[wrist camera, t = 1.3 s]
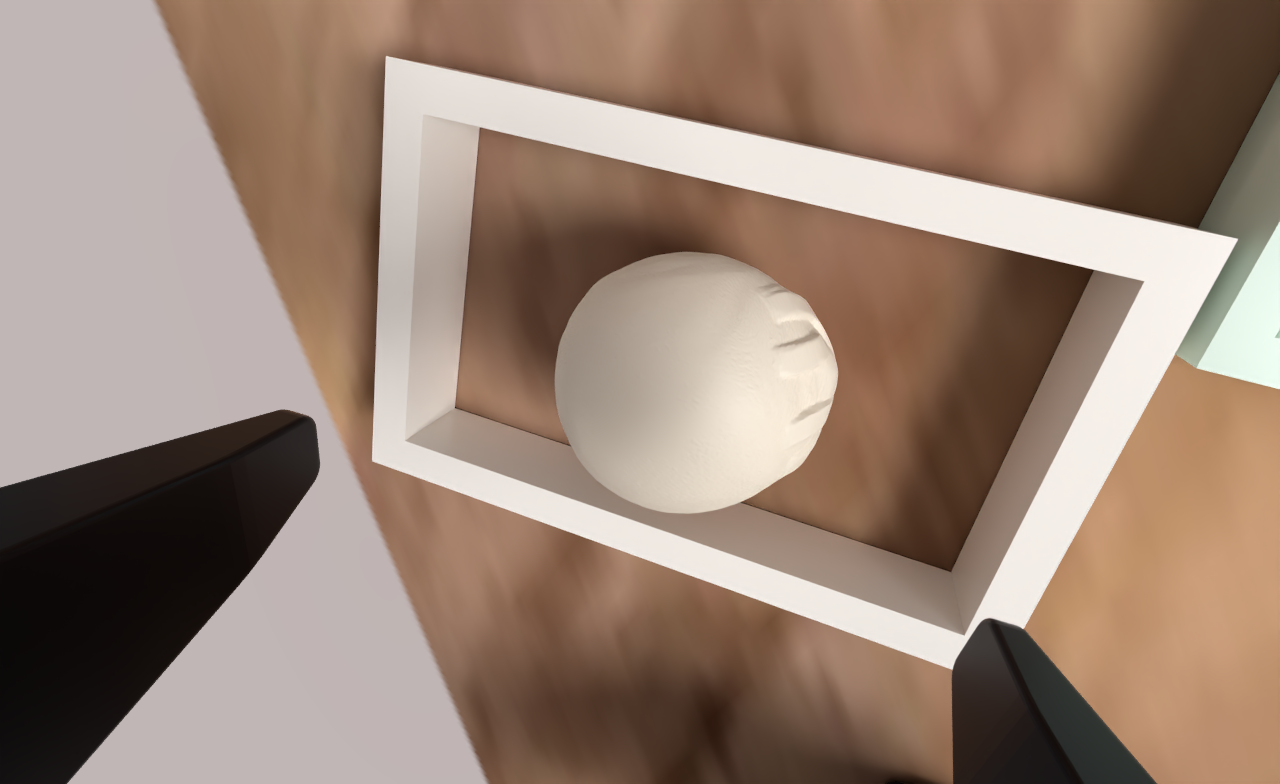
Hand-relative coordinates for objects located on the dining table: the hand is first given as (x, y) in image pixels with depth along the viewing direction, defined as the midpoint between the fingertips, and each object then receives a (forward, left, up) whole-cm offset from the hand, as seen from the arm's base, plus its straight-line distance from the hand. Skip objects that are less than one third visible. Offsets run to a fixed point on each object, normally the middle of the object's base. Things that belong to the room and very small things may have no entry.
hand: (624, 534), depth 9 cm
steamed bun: (-1, +1, -13) cm, 13 cm away
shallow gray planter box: (-1, +1, -13) cm, 13 cm away
